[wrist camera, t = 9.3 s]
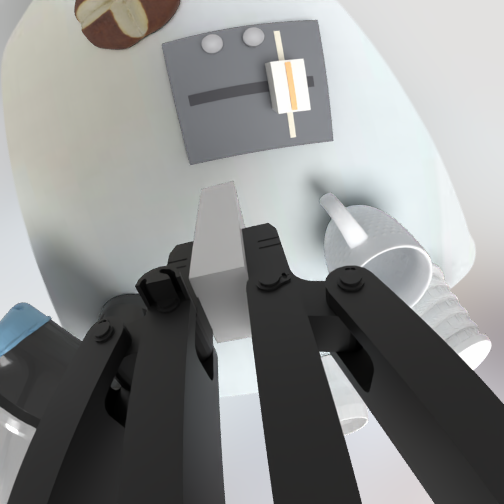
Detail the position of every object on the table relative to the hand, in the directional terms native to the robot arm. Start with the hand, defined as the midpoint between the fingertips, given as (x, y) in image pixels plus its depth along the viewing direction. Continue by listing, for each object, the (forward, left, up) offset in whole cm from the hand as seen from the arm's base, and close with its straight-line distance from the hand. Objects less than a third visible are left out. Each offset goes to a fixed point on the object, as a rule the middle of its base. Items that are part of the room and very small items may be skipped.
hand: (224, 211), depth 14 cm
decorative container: (+27, -31, -21) cm, 46 cm away
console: (+3, +4, -21) cm, 22 cm away
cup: (+10, -48, -21) cm, 53 cm away
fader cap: (+7, +4, -19) cm, 20 cm away
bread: (-8, +18, -22) cm, 29 cm away
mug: (+13, -15, -21) cm, 29 cm away
